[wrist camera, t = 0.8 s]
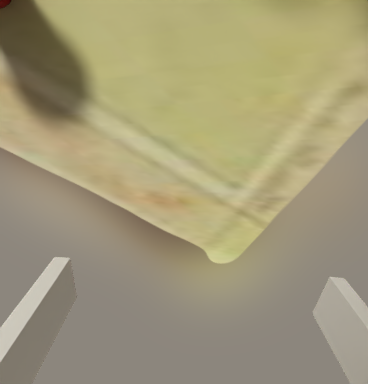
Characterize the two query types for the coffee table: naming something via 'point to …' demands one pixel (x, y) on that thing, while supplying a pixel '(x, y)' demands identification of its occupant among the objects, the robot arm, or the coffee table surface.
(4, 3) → the plastic cup
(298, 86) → the coffee table surface
